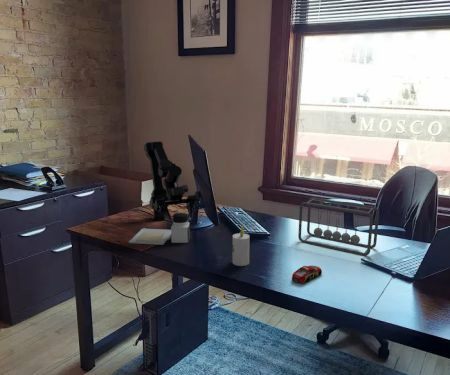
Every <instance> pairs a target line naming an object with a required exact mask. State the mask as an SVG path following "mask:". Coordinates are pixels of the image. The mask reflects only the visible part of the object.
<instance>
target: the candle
mask: <svg viewBox="0 0 450 375" xmlns="http://www.w3.org/2000/svg"><path fill="white" fill-rule="evenodd" d="M250 238H251V237H250V234H248V233H245V225H244V224H242V226H241V229H240V232H239V233H238V232H237V233H234V234H232V244H231V252H232V264H233V265H235V266H237V267H238V266H239V267H243V266H244V267H245V266H248V265H249V264H250V240H251V239H250Z"/></svg>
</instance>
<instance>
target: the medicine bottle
mask: <svg viewBox="0 0 450 375" xmlns="http://www.w3.org/2000/svg"><path fill="white" fill-rule="evenodd" d="M172 218H173V219H172V220H173V222H172V223H171V224H172V225H171V227H170V230H171V235H170V237H171V238H170V239H171V243H172V244H174V243H175V244H176V243H177V244H187V243H189V240H190V237H191V234H190V233H191V232H190V230H191V228H190V226H191V225H190V221H188V214H187V213H186V212H181V211H180V212H175V213H174V214H173V215H172Z"/></svg>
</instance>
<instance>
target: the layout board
mask: <svg viewBox="0 0 450 375" xmlns="http://www.w3.org/2000/svg"><path fill="white" fill-rule="evenodd" d="M170 237H171V229H162V228H161V229H159V228H145V227H143V228H141V229H140V230H139V231H138V232H137V233H136V234H135V235H134V236H133V237H132V238H131V239H130V240H129V241H128V243H129V244H142V245H143V244H144V245H157V246H159V245H161V246H162V245H165V243H166V242H167V240H168V239H169V238H170Z"/></svg>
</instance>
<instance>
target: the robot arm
mask: <svg viewBox="0 0 450 375" xmlns="http://www.w3.org/2000/svg"><path fill="white" fill-rule="evenodd" d="M143 150H144V152H145V156H146V157H147V158H148V160H149V164H150V172H151V177H152V186H153V189H152V192H151V193H150V195H151V197H150V199H149V202H148V203H149V207H150V209H152V210H153V211H152V212H153V217H151V221H165V220H166V219H167V220H168V221H169V222H172V216H171V213H170V211H169V206H174V205H175V206H176V205H181V204H182V205H183V204H186V209H187V213H188V215H189V218H190V219H193V209H194V207H195V206H196V205H197V203H198V201H199V197H198V195H197V194H190V195H187V197H186V198H184V195H185V194H186V193H189V188H188V184H182V185H181V186H179V184H178V182H179V181H180V178H181V176H182V174H183V169H182V168H181V167H180V166H178V165H176V163H174V162H173V161H171V160H170V159H169V158H168V155H167V153H166V152H165V148H164V143H163V141H147V142H145V144H144V145H143ZM162 178H164V180H162Z"/></svg>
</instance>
